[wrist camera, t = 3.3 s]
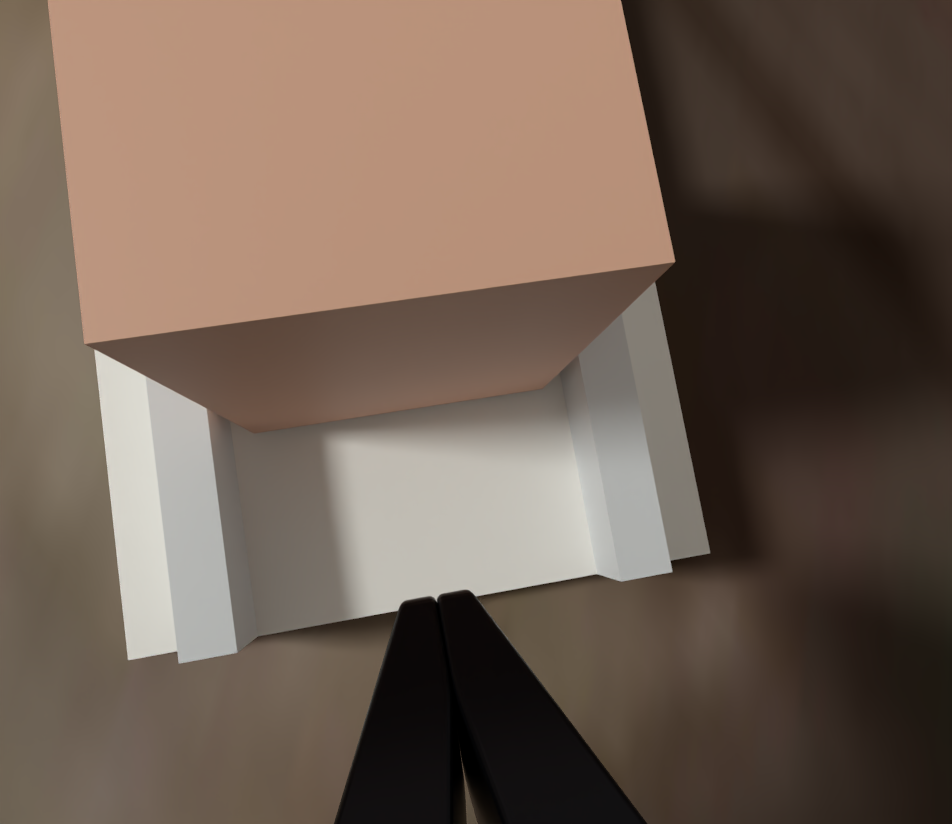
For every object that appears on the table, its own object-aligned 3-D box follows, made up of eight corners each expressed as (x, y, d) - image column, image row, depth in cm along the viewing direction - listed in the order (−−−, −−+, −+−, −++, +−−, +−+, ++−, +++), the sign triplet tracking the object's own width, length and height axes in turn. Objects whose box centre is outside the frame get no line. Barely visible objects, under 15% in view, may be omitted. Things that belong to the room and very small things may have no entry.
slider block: (542, 388, 16) (674, 262, 8) (254, 433, 15) (84, 344, 7) (502, 166, 16) (588, -158, 8) (223, 200, 16) (35, -119, 8)
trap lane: (692, 550, 17) (889, 575, 10) (146, 651, 16) (-63, 758, 9) (528, -265, 19) (593, -693, 13) (47, -237, 18) (-176, -699, 11)
